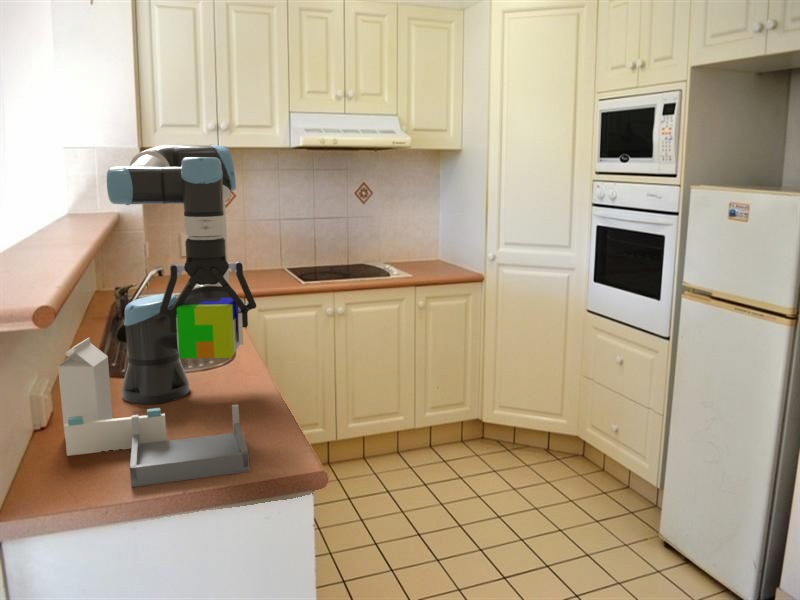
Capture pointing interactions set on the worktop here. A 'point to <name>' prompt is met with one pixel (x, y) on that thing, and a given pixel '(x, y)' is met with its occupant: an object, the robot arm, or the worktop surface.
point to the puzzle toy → (207, 328)
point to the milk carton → (85, 384)
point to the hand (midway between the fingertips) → (210, 345)
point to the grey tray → (188, 456)
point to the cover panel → (112, 433)
